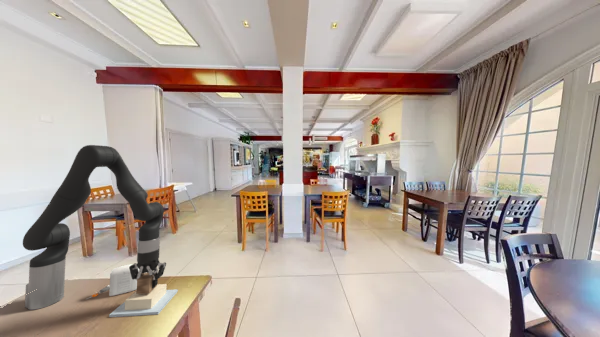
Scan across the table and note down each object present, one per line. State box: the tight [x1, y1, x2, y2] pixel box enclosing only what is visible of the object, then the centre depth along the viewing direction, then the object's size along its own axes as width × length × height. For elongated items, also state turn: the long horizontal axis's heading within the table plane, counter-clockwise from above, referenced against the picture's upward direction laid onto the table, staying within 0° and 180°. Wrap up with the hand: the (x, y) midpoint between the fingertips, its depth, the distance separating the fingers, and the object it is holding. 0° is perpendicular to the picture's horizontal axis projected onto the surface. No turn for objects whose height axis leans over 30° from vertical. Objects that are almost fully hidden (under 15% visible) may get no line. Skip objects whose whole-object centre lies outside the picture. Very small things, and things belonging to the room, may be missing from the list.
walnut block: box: [135, 273, 157, 294], centre depth 79 cm, size 5×5×6 cm
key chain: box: [86, 284, 110, 300], centre depth 85 cm, size 13×4×2 cm, turn 174°
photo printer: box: [108, 263, 139, 297], centre depth 87 cm, size 10×4×12 cm, turn 123°
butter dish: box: [108, 283, 179, 318], centre depth 79 cm, size 18×14×5 cm
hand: (147, 287), depth 79 cm, fingers closed on walnut block, 4 cm apart
